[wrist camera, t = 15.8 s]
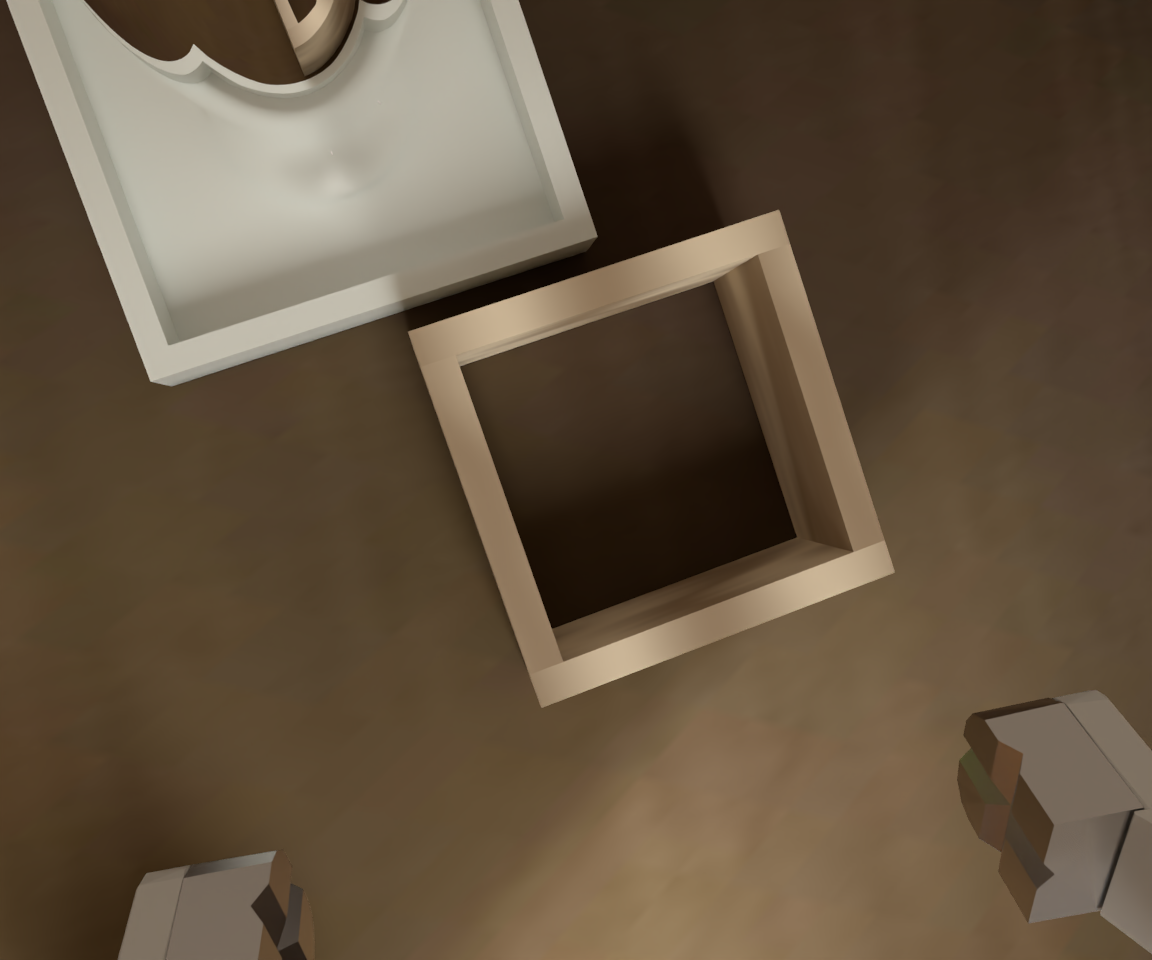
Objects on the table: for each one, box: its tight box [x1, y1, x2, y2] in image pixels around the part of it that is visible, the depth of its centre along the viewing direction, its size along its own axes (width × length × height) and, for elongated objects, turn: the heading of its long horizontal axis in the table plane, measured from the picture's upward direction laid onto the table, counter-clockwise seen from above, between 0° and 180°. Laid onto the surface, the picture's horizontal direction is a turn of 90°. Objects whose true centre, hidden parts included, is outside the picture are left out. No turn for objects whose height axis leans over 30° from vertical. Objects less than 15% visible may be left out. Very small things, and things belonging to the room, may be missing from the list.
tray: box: [6, 0, 598, 386], centre depth 29 cm, size 14×14×2 cm
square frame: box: [408, 210, 895, 708], centre depth 29 cm, size 11×11×4 cm
